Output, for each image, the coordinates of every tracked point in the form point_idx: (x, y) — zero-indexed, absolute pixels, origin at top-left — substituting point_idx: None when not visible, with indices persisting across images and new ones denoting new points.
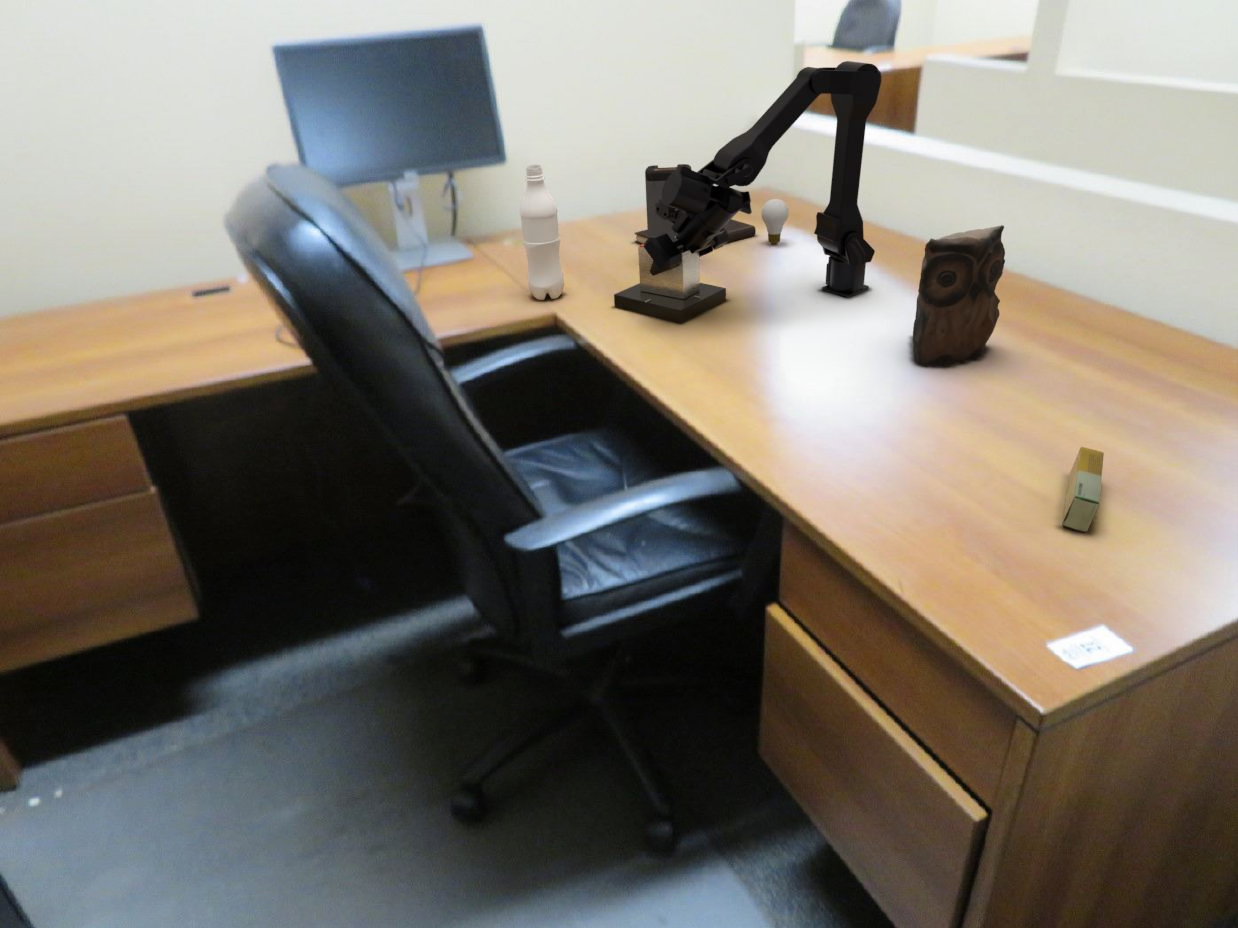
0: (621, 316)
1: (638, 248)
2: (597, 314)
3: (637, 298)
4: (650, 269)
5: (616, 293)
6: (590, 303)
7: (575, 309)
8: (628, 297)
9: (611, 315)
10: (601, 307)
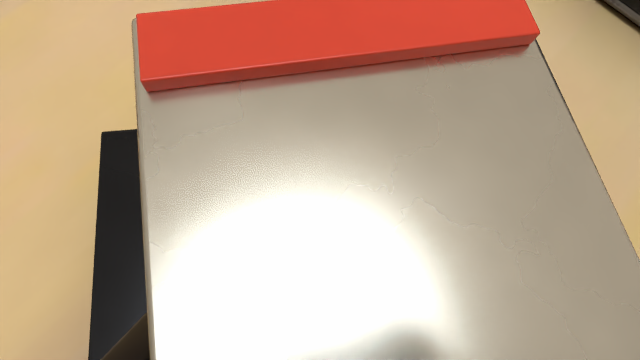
0: (37, 281)
1: (135, 37)
2: (4, 167)
3: (116, 288)
4: (130, 333)
5: (121, 131)
6: (109, 50)
7: (12, 52)
8: (103, 230)
9: (25, 229)
10: (93, 117)
